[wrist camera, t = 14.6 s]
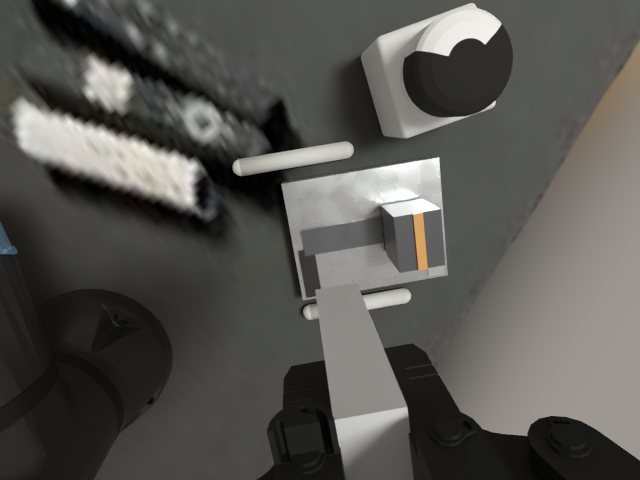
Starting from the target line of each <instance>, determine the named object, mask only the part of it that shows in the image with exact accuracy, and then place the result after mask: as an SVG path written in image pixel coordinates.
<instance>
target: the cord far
mask: <svg viewBox="0 0 640 480" xmlns="http://www.w3.org/2000/svg"><path fill="white" fill-rule="evenodd" d="M362 297H363V300H364V302H365V304H366V307H367V309H368V310H369V309H375V308H381V307H386V306H392V305H398V304H403V303H407V302H408V301H409V300H410V299H411V293H410V292H409V290H407V289H405V288H401V289H395V290H389V291H383V292H378V293H372V294H366V295H362ZM303 315H304V317H305V318H307V319H309V320H312V319H318V318H319V314H318V307H317V303H315V304H309V305H307V306H305V307H304V309H303Z"/></svg>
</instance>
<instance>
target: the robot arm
mask: <svg viewBox="0 0 640 480" xmlns="http://www.w3.org/2000/svg"><path fill="white" fill-rule="evenodd" d="M15 254H18V253H17V249H16V248H15V247H14V246H12V245H11V243H10V241H9V239H8V237H7V235H6V233H5V231H4V228H3V226H2V224H1V222H0V480H94V478H95V476H96V474H97V472H98V471H99V469H100V467H101V465H102V463H103V461H104V460H105V458H106V456H107V454H108V452H109V450H110V448H111V447H112V445H113V443H114V441H115V439H116V438H117V436H118V434H120V433H121V432H122V431H123V430H124V429H126V428H127V427H128V426H129V425H130V424H132V423H133V422H134V421H135V420H136V419H138V418H139V417H140V416H141V415H142V414H144V413H145V412H146V411H147V410H148V409H149V408H150V407H151V406H152V405H153V404H154V403H155V401H156V400H157V399H158V397H159V396H160V394H161V392H162V390H163V388H164V386H165V384H166V382H167V380H168V378H169V375H170V372H171V367H172V350H171V345H170V342H169V339H168V336H167V334H166V332H165V330H164V328H163V327H162V325H161V324H160V323H159V321H158V320H157V319H156V318H155V316H154V315H153V314H152V313H150V312H149V311H148V310H147V309H146V308H144V307H143V306H142V305H140V304H139V303H137V302H135V301H134V300H132V299H130V298H128V297H125V296H123V295H120V294H117V293H114V292H109V291H104V290H78V291H73V292H69V293H65V294H63V295H60V296H58V297H56V298H54V299H52V300H51V301H49V302H48V303H46V304H45V305H43V306H42V307H41V308H39V309H38V310H37V311H36V310H35V307H34V305H33V302H32V299H31V297H30V294H29V291H28V288H27V286H26V283H25V280H24V277H23V274H22V272H21V269H20V266H19V263H18V260H17V258H16V255H15ZM315 292H316V299H317V307H318V314H319V321H320V328H321V336H322V343H323V350H324V357H325V360H324V361H318V362H312V363H307V364H301V365H296V366H291V368H290V369H289V371H288V373H287V374H286V376H285V378H284V391H283V392H284V394H283V410H281V411H280V412H278V413H277V414H276V415H275V416H274V418H273V419H272V420H271V421H270V423H269V426H268V429H267V434H268V438H269V443H270V447H271V451H272V455H273V459H274V465H273V467H272V468H271V469H270V470H269V471H268V472H267V473H266V474H264V475H263V476H262V477H260V478H259V479H257V480H640V461H639V460H638V459H637V458H635V457H634V456H632V455H631V454H630V453H628V452H627V451H625V450H624V449H623V448H621V447H620V446H618V445H617V444H615V443H614V442H613V441H611V440H610V439H609V438H607V437H606V436H604V435H603V434H602V433H600V432H599V431H597V430H596V429H594V428H592V427H590V426H588V425H587V424H585V423H583V422H581V421H578V420H574V419H571V418H567V417H557V416H550V417H545V418H541V419H538V420H537V421H535V422H534V423H533V424H531V426H530V428H529V431H528V436H519V435H506V434H499V433H492V432H489V431H486V430H483V429H482V428H481V427H480V426H479V425H478V424H477V423H476V422H475V421H474V420H473V419H472V418H471V417H469V416H467V415H465V414H463V413H461V412H460V410H459V409H458V407H457V406H456V404H455V402H454V400H453V398H452V397H451V395H450V393H449V392H448V390H447V388H446V386H445V385H444V383H443V382H442V380H441V378H440V376H438V373H437V371H436V369H435V368H434V366H432V363H431V361H430V359H429V358H428V356H427V354H426V352H424V351H423V350H421V349H420V348H418V347H417V346H415V345H414V344H406V345H401V346H395V347H390V348H383V346H382V344H381V341H380V339H379V336H378V334H377V331H376V329H375V326H374V324H373V322H372V319H371V317H370V314H369V312H368V309H367V307H366V304H365V302H364V300H363V297H362V295H361V292H360V290H359V287H358V285H357V283H352V284H346V285H340V286H335V287H329V288H323V289H317V290H315Z"/></svg>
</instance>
